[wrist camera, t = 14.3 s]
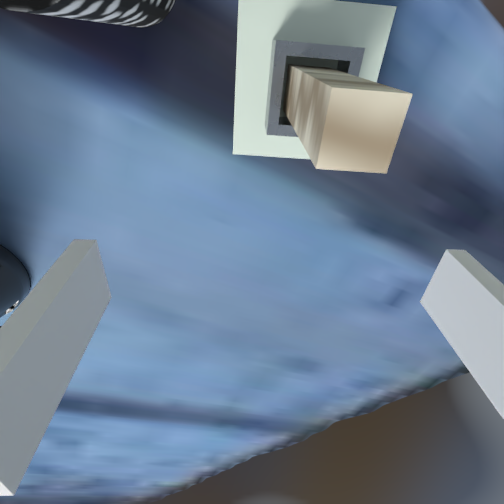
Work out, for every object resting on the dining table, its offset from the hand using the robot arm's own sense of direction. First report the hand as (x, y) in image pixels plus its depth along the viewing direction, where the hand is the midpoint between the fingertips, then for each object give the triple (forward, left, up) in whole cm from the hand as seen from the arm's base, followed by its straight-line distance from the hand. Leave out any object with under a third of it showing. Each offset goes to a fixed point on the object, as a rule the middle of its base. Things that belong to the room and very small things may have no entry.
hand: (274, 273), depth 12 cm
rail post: (+4, -5, -25) cm, 26 cm away
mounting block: (+4, -5, -29) cm, 30 cm away
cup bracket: (+4, -5, -25) cm, 26 cm away
